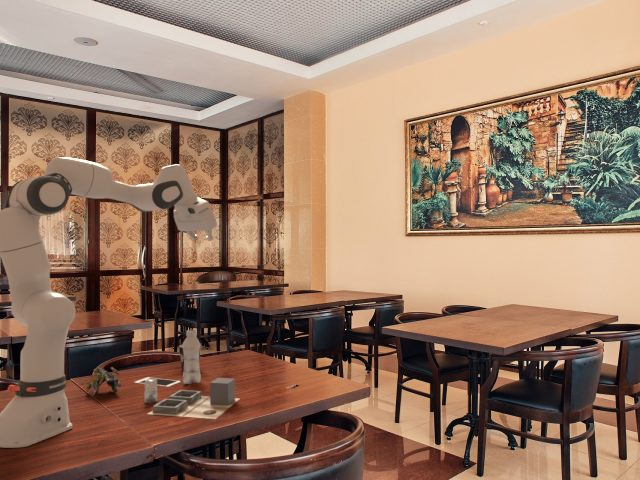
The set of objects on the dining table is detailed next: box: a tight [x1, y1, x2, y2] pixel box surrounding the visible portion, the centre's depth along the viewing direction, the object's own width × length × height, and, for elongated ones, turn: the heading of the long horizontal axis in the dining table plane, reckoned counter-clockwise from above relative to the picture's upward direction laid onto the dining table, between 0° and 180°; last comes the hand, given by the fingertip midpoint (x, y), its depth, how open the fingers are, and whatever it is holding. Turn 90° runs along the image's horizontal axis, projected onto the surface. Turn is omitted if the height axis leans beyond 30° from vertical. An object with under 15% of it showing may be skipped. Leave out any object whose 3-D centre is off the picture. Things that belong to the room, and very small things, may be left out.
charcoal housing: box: [209, 377, 236, 406], centre depth 164 cm, size 6×6×7 cm
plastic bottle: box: [182, 329, 202, 385], centre depth 191 cm, size 6×7×20 cm
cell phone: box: [133, 376, 181, 388], centre depth 194 cm, size 8×16×1 cm, turn 69°
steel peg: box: [144, 379, 158, 404], centre depth 170 cm, size 4×4×7 cm
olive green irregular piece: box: [80, 366, 122, 398], centre depth 178 cm, size 11×11×12 cm
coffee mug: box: [179, 344, 201, 372], centre depth 211 cm, size 12×9×10 cm
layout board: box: [147, 389, 241, 420], centre depth 160 cm, size 20×22×6 cm
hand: (203, 240), depth 189 cm, fingers open, 8 cm apart
